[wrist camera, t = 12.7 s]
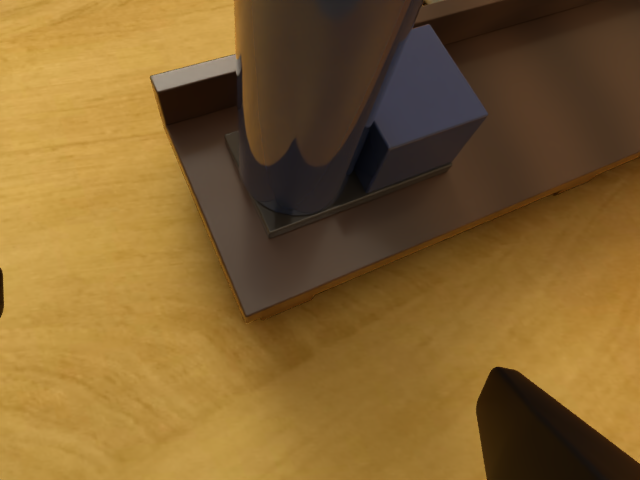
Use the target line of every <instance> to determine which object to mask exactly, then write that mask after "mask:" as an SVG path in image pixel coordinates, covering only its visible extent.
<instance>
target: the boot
mask: <svg viewBox="0 0 640 480" xmlns="http://www.w3.org/2000/svg"><path fill="white" fill-rule="evenodd" d="M423 1H424V0H234V15H235V49H236V83H237V117H238V131H235V132H231V133H228V134H225V135H224V139H225V145H226V147H227V149H228V151H229V153H230V156H231V158H232V160H233V162H234V164H235V167H236V169H237V171H238V173H239V175H240V178H241V180H242V182H243V184H244V186H245V189H246V191H247V193H248V195H249V197H250V200H251V202H252V204H253V206H254V208H255V211H256V213H257V215H258V217H259V219H260V222H261V224H262V226H263V228H264V230H265V233H266V235H267V237H268V238H269V239H270V238H273V237H276V236H278V235H281V234H284V233H286V232H289V231H292V230H294V229H297V228H299V227H302V226H305V225H307V224H310V223H313V222H315V221H318V220H321V219H323V218H326V217H329V216H331V215H334V214H337V213H339V212H342V211H344V210H347V209H350V208H352V207H355V206H358V205H360V204H363V203H366V202H368V201H371V200H374V199H376V198H379V197H381V196H384V195H387V194H389V193H392V192H395V191H397V190H400V189H403V188H405V187H408V186H411V185H413V184H416V183H418V182H421V181H424V180H426V179H429V178H432V177H434V176H437V175H440V174H442V173H445V172H447V171H448V170H449V169H450V168H451V166H452V165H453V164H452V161H453V160H454V159H455V157H456V156H457V155H458V154H459V152H460V151H461V150H462V148H463V147H464V146H465V145H466V143H467V142H468V141H469V139H470V138H471V137H472V136H473V134H474V133H475V132H476V130H477V129H478V128H479V126H480V125H481V124H482V123H483V121H484V120H485V119H486V117H487V116H488V112H487V110H486V109H485V107H484V106H483V104H482V103H481V101H480V100H479V98H478V97H477V95H476V94H475V92H474V91H473V89H472V88H471V86H470V85H469V83H468V82H467V80H466V78H465V77H464V75H463V74H462V72H461V71H460V69H459V68H458V66H457V65H456V63H455V62H454V60H453V59H452V57H451V56H450V54H449V53H448V51H447V50H446V48H445V47H444V45H443V43H442V42H441V40H440V39H439V37H438V36H437V34H436V33H435V31H434V30H433V28H432V27H431V25H430V24H427V25H424V26H420V27H416V28H413V25H414V23H415V21H416V18H417V16H418V13H419V11H420V9H421V6H422V4H423Z"/></svg>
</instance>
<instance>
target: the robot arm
mask: <svg viewBox="0 0 640 480" xmlns="http://www.w3.org/2000/svg"><path fill="white" fill-rule="evenodd" d="M3 308H4V294H3V273H2V270H1V268H0V317H1V315H2V313H3ZM476 415H477V421H478V427H479V433H480V440H481V446H482V452H483V458H484V464H485V471H486V477H487V480H640V464H639V463H638V462H637V461H635V460H634V459H633V458H631V457H630V456H629V455H627V454H626V453H625V452H623V451H622V450H621V449H619V448H618V447H617V446H616V445H614V444H613V443H612V442H610V441H609V440H608V439H606V438H605V437H604V436H602V435H601V434H600V433H598V432H597V431H596V430H595V429H593V428H592V427H591V426H589V425H588V424H587V423H585V422H584V421H583V420H581V419H580V418H579V417H577V416H576V415H575V414H573V413H572V412H571V411H570V410H568V409H567V408H566V407H564V406H563V405H562V404H560V403H559V402H558V401H556V400H555V399H554V398H552V397H551V396H550V395H549V394H547V393H546V392H545V391H543V390H542V389H541V388H539V387H538V386H537V385H535V384H534V383H533V382H531V381H530V380H529V379H527V378H526V377H525V376H524V375H522V374H521V373H520V372H518V371H516V370H513V369H508V368H503V367H495V368H493V369H492V370H491V372H490V373H489V376H488V378H487V380H486V382H485V385H484V387H483V389H482V391H481V394H480V396H479V398H478V401H477V406H476Z"/></svg>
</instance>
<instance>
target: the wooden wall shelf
mask: <svg viewBox="0 0 640 480" xmlns="http://www.w3.org/2000/svg"><path fill="white" fill-rule="evenodd" d="M427 24H430V25H431V27H432V28H433V30H434V31H435V33H436V34H437V36H438V37H439V39H440V40H441V42H442V43H443V45H444V47H445V48H446V50H447V51H448V53H449V54H450V56H451V57H452V59H453V60H454V62H455V63H456V65H457V66H458V68H459V69H460V71H461V72H462V74H463V75H464V77H465V78H466V80H467V82H468V83H469V85H470V86H471V88H472V89H473V91H474V92H475V94H476V95H477V97H478V98H479V100H480V101H481V103H482V104H483V106H484V107H485V109H486V110H487V112H488V116H487V117H486V119H485V120H484V121H483V123H482V124H481V125H480V126H479V128H478V129H477V130H476V132H475V133H474V134H473V136H472V137H471V138H470V139H469V141H468V142H467V143H466V145H465V146H464V147H463V148H462V150H461V151H460V152H459V154H458V155H457V156H456V157H455V159H454V160H453V161H452V164H453V165H452V166H451V168H450V169H449V170H448V171H447V172H445V173H442V174H440V175H437V176H434V177H432V178H429V179H426V180H424V181H421V182H418V183H416V184H413V185H411V186H408V187H405V188H403V189H400V190H397V191H395V192H392V193H389V194H387V195H384V196H381V197H379V198H376V199H374V200H371V201H368V202H366V203H363V204H360V205H358V206H355V207H352V208H350V209H347V210H344V211H342V212H339V213H337V214H334V215H331V216H329V217H326V218H323V219H321V220H318V221H315V222H313V223H310V224H307V225H305V226H302V227H299V228H297V229H294V230H292V231H289V232H286V233H284V234H281V235H278V236H276V237H273V238H270V239H269V238H268V237H267V235H266V233H265V230H264V228H263V226H262V224H261V222H260V219H259V217H258V215H257V213H256V211H255V208H254V206H253V204H252V202H251V200H250V197H249V195H248V193H247V191H246V189H245V186H244V184H243V182H242V180H241V178H240V175H239V173H238V171H237V169H236V167H235V164H234V162H233V160H232V158H231V156H230V153H229V151H228V149H227V147H226V145H225V139H224V135H225V134H228V133H231V132H235V131H238V117H237V83H236V54H234V55H230V56H226V57H222V58H218V59H214V60H210V61H206V62H203V63H199V64H195V65H191V66H187V67H183V68H179V69H175V70H171V71H168V72H164V73H160V74H156V75H152V76H150V80H151V83H152V87H153V90H154V94H155V98H156V101H157V105H158V109H159V112H160V116H161V119H162V123H163V126H164V129H165V132H166V134H167V137H168V139H169V141H170V144H171V146H172V149H173V151H174V153H175V156H176V158H177V161H178V163H179V165H180V168H181V170H182V173H183V175H184V177H185V180H186V182H187V185H188V187H189V189H190V192H191V194H192V197H193V199H194V201H195V204H196V206H197V209H198V211H199V214H200V216H201V218H202V221H203V223H204V226H205V228H206V230H207V233H208V235H209V238H210V240H211V242H212V245H213V247H214V250H215V252H216V254H217V257H218V259H219V262H220V264H221V266H222V269H223V271H224V274H225V276H226V278H227V281H228V283H229V286H230V288H231V290H232V293H233V295H234V298H235V300H236V302H237V305H238V307H239V310H240V312H241V314H242V317H243V319H244V322H245V323H250V322H252V321H255V320H257V319H259V318H260V320H265V319H267V318H270V317H272V316H274V315H277V314H279V313H281V312H284V311H286V310H288V309H291V308H293V307H295V306H298V305H300V304H302V303H305V302H307V301H309V300H312V299H313V297H314V295H316V294H318V293H321V292H323V291H325V290H328V289H330V288H332V287H335V286H337V285H339V284H342V283H344V282H346V281H349V280H351V279H354V278H356V277H358V276H361V275H363V274H365V273H368V272H370V271H372V270H375V269H377V268H379V267H382V266H384V265H386V264H389V263H391V262H393V261H396V260H398V259H401V258H403V257H405V256H408V255H410V254H412V253H415V252H417V251H419V250H422V249H424V248H426V247H429V246H431V245H433V244H436V243H438V242H440V241H443V240H445V239H448V238H450V237H452V236H455V235H457V234H459V233H462V232H464V231H466V230H469V229H471V228H473V227H476V226H478V225H480V224H483V223H485V222H487V221H490V220H492V219H495V218H497V217H499V216H502V215H504V214H506V213H509V212H511V211H513V210H516V209H518V208H520V207H523V206H525V205H527V204H530V203H532V202H535V201H537V200H539V199H542V198H544V197H546V196H549V195H551V194H553V195H557V194H560V193H562V192H564V191H567V190H569V189H571V188H574V187H576V186H578V185H581V184H583V183H585V182H588V181H589V180H591V179H592V178H594V177H595V176H596V175H598V174H600V173H603V172H605V171H607V170H610V169H612V168H614V167H617V166H619V165H621V164H624V163H626V162H629V161H631V160H633V159H636V158H638V157H640V0H444V1H440V2H436V3H432V4H428V5H424V6H421V9H420V11H419V13H418V16H417V18H416V21H415V23H414V25H413V28H416V27H420V26H424V25H427Z"/></svg>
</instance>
